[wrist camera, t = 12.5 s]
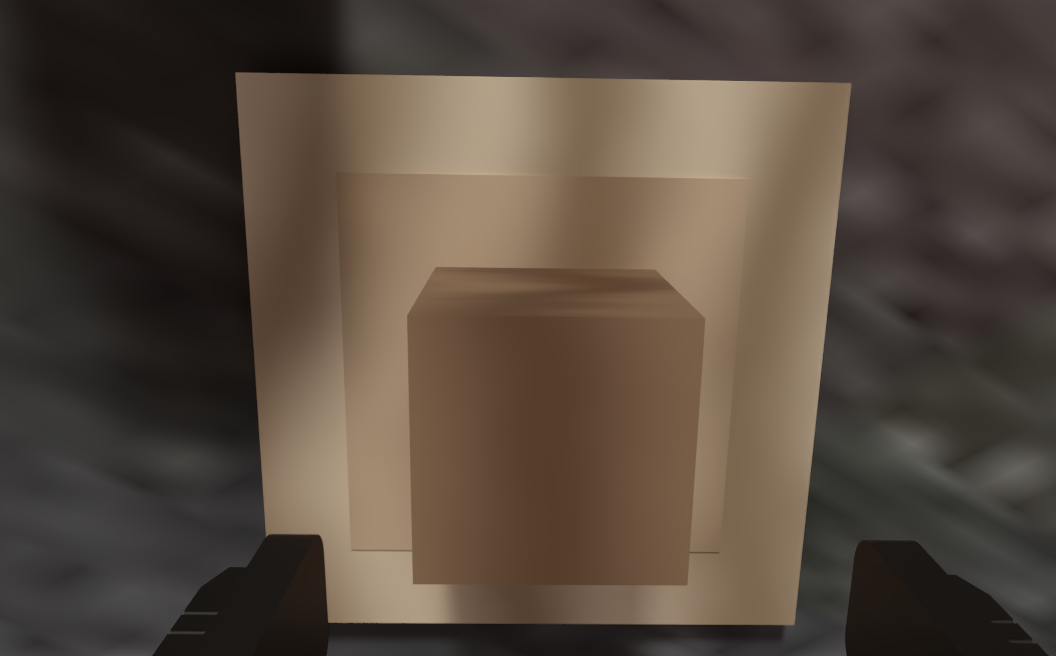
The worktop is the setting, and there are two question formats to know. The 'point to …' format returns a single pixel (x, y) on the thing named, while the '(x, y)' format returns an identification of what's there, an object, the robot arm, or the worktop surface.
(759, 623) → the birch board
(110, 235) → the worktop surface
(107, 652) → the worktop surface
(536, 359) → the walnut cube
